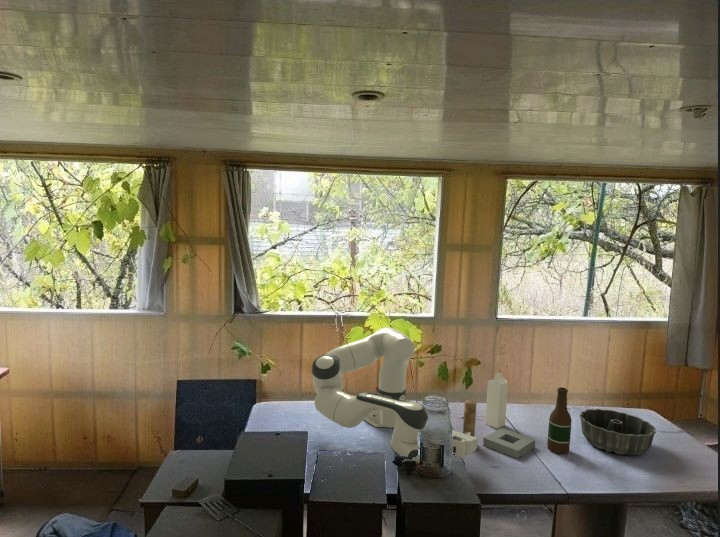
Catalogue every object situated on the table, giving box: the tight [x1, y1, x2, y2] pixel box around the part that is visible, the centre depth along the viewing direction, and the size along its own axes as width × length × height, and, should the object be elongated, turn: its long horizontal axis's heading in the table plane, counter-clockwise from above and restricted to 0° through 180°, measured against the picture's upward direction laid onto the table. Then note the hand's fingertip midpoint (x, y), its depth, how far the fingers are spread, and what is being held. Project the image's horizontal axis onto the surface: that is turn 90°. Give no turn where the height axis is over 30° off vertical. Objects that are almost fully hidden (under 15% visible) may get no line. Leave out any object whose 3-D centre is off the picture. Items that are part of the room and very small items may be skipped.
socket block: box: [482, 427, 536, 459], centre depth 182 cm, size 14×14×3 cm
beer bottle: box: [546, 386, 572, 455], centre depth 179 cm, size 8×8×24 cm
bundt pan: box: [579, 408, 657, 457], centre depth 186 cm, size 26×26×10 cm
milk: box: [485, 372, 509, 430], centre depth 201 cm, size 6×6×22 cm
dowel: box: [462, 399, 477, 437], centre depth 183 cm, size 4×4×16 cm
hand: (456, 430), depth 173 cm, fingers open, 8 cm apart
